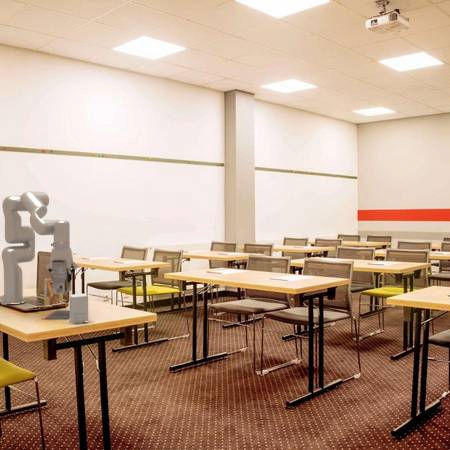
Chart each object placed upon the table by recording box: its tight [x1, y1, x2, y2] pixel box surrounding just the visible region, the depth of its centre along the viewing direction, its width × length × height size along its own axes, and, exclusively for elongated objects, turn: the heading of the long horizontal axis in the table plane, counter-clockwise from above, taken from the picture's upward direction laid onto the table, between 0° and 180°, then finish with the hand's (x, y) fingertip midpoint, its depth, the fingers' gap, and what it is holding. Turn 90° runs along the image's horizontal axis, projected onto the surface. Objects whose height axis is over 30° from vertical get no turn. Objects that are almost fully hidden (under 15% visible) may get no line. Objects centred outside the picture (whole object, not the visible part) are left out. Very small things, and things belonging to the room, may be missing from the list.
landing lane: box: [41, 309, 70, 320], centre depth 253 cm, size 13×18×1 cm
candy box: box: [43, 277, 64, 306], centre depth 274 cm, size 9×4×15 cm, turn 129°
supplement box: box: [68, 293, 89, 324], centre depth 239 cm, size 7×7×13 cm
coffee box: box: [52, 260, 72, 294], centre depth 252 cm, size 9×6×16 cm
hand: (62, 281), depth 252 cm, fingers closed on coffee box, 6 cm apart
